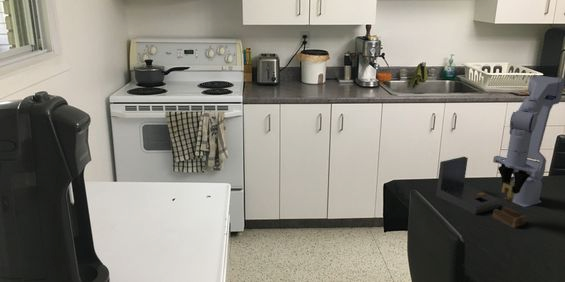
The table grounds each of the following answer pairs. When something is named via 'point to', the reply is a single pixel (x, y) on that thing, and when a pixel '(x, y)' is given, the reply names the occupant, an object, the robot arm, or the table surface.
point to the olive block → (509, 190)
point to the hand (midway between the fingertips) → (510, 190)
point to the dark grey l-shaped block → (462, 188)
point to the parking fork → (509, 217)
